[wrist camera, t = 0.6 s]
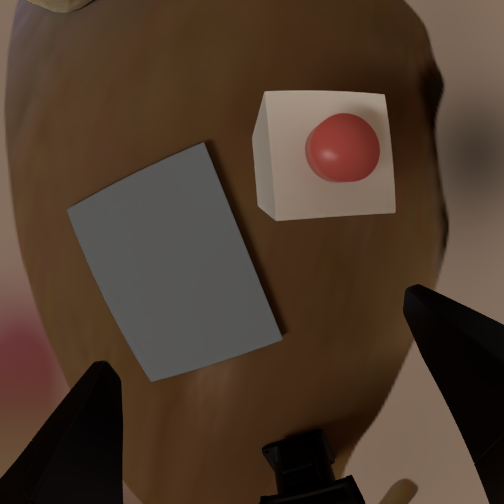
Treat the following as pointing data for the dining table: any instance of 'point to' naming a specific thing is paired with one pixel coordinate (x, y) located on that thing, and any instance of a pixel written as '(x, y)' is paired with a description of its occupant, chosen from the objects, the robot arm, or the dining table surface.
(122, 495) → the robot arm
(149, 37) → the dining table surface
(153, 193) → the placemat
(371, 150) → the big red button box
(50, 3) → the food model
